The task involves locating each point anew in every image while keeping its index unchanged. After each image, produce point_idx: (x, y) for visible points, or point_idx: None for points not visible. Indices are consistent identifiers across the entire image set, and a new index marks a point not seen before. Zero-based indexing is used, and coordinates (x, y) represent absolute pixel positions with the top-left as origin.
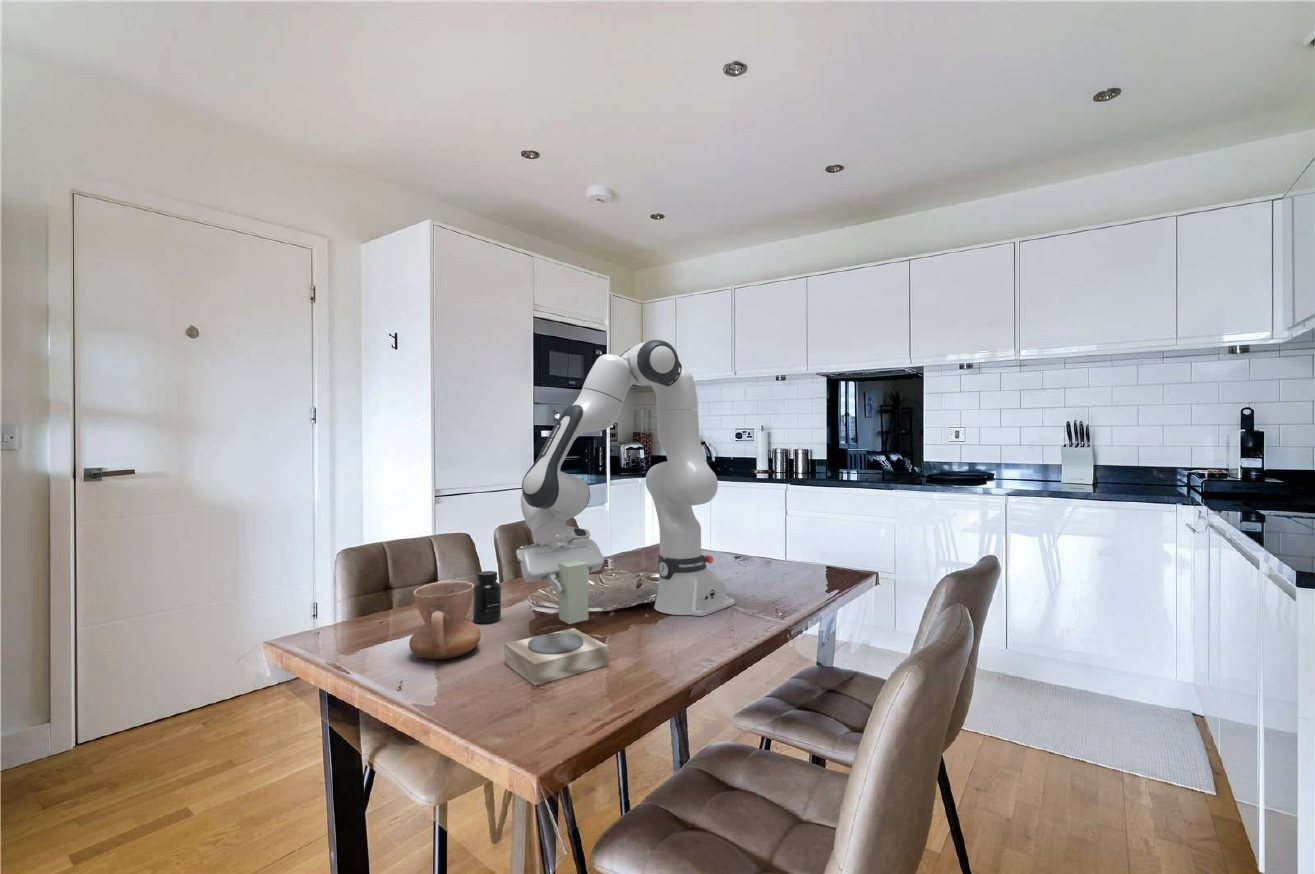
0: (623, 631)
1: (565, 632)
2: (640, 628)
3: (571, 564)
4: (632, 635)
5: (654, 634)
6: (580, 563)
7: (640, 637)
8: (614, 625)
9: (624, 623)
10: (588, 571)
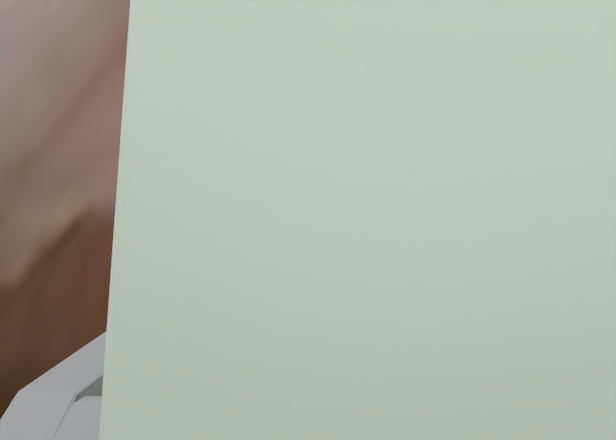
0: (114, 204)
1: None
2: (12, 189)
3: (564, 154)
4: (119, 116)
5: (24, 62)
6: (272, 105)
7: (108, 64)
8: (86, 336)
9: (18, 329)
10: (28, 395)
